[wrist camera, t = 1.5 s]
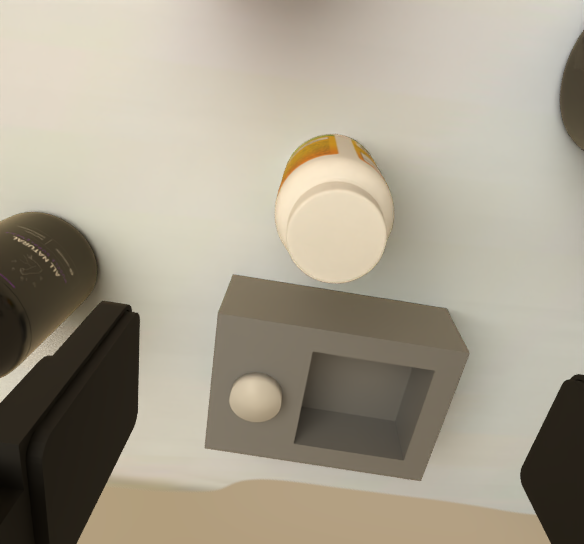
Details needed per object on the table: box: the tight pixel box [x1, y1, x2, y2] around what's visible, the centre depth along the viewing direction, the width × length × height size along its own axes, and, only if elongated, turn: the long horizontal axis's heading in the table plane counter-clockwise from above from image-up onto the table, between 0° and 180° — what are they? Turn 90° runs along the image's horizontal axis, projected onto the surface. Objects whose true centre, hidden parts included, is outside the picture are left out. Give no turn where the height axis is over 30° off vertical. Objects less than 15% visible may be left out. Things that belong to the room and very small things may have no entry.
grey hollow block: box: [205, 275, 469, 481], centre depth 29 cm, size 14×10×6 cm
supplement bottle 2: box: [275, 134, 394, 283], centre depth 23 cm, size 5×5×10 cm
